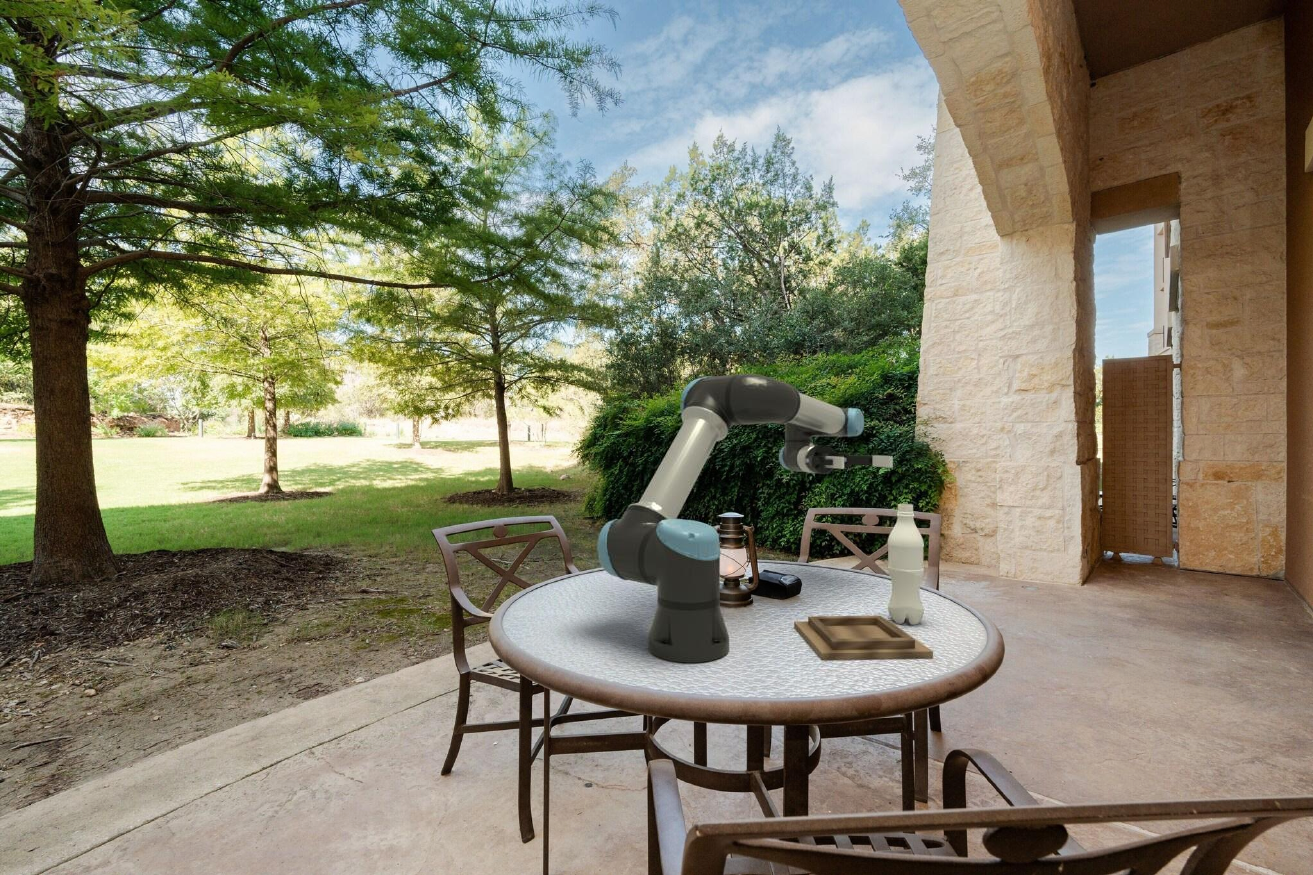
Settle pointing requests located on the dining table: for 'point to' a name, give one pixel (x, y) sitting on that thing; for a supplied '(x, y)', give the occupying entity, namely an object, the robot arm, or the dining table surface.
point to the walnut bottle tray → (859, 638)
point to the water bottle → (905, 568)
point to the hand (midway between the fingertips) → (867, 462)
